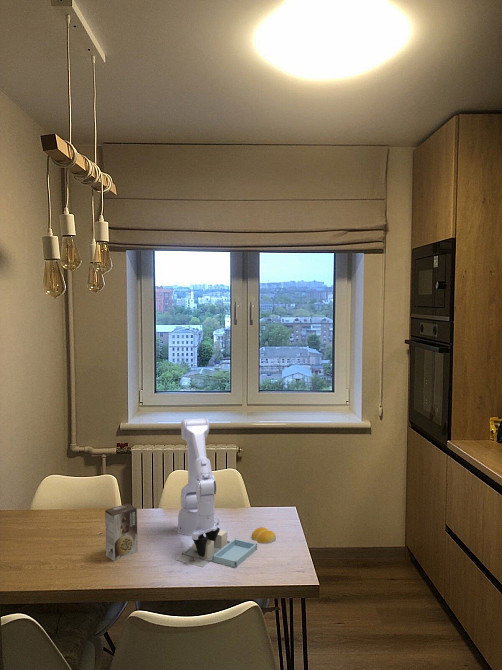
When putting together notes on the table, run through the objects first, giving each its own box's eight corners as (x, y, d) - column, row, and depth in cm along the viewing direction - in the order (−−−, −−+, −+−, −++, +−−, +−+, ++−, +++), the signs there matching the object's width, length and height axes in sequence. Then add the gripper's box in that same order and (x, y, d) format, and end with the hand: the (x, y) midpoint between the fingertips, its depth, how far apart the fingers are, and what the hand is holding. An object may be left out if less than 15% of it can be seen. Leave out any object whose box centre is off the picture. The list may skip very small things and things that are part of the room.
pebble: (190, 551, 180) (190, 542, 180) (195, 548, 183) (195, 539, 183) (197, 553, 179) (197, 544, 179) (203, 550, 182) (203, 541, 181)
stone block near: (197, 556, 177) (197, 543, 177) (204, 551, 181) (204, 538, 180) (207, 558, 175) (207, 545, 175) (214, 553, 179) (214, 541, 179)
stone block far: (211, 545, 185) (211, 533, 185) (217, 541, 189) (217, 529, 188) (221, 548, 183) (221, 535, 183) (227, 543, 187) (227, 531, 186)
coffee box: (128, 547, 185) (127, 502, 184) (138, 553, 180) (137, 507, 179) (104, 555, 178) (104, 509, 178) (114, 562, 174) (114, 514, 173)
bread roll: (264, 547, 186) (264, 536, 185) (248, 539, 192) (248, 528, 192) (281, 540, 191) (281, 530, 191) (264, 533, 198) (264, 522, 198)
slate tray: (174, 561, 175) (174, 556, 174) (206, 538, 192) (206, 534, 192) (203, 568, 169) (203, 564, 169) (234, 544, 187) (234, 540, 187)
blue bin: (212, 563, 173) (212, 555, 173) (234, 545, 186) (234, 538, 186) (235, 569, 169) (235, 561, 169) (256, 550, 182) (256, 543, 182)
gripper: (204, 522, 169) (204, 563, 170) (226, 508, 182) (226, 546, 182) (186, 519, 172) (186, 559, 173) (209, 505, 185) (209, 542, 186)
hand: (205, 552), depth 178 cm, fingers open, 5 cm apart
